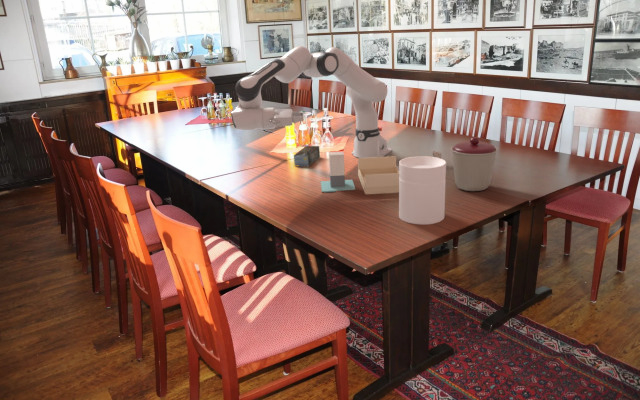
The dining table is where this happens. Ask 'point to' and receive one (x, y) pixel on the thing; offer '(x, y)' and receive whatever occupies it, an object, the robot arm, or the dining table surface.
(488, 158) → the canister
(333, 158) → the box
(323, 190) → the mat
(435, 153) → the architectural model
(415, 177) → the canister
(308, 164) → the beverage carton
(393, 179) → the beige open box
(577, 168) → the dining table surface
